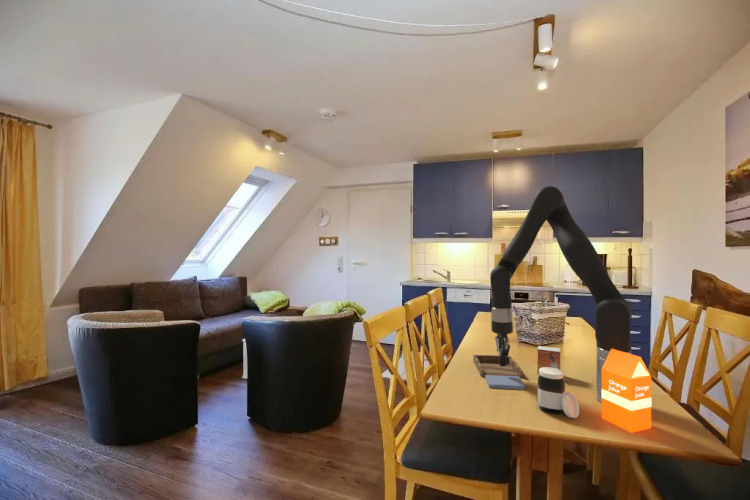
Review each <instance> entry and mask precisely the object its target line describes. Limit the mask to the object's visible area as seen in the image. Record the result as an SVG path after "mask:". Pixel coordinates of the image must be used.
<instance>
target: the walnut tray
mask: <svg viewBox="0 0 750 500" xmlns="http://www.w3.org/2000/svg"><path fill="white" fill-rule="evenodd" d="M473 363H474V365H475V367H476V369H477V371H478V374H479V375H480V377H482V378H485V375H496V376H518V377H519V378H520V379H523V377H524V375H523V374H524V373H523V372H524V371H523V369H522V368H521V367H520V366H519V365H518V363H517V362H516V361H515V360H514V358H513V357H512V356H511V355H508V356H506V366H500V365H499V355H495V354H493V355H488V354H473Z"/></svg>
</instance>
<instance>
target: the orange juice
mask: <svg viewBox="0 0 750 500" xmlns="http://www.w3.org/2000/svg"><path fill="white" fill-rule="evenodd" d="M652 401H653V400H652V375H651V374H650V372H649V369H648V368H647V366H646V363H644V361H643V359H642V356H638V355H635V354H632V353H631V354H628V353H625V352H622V351H618V350H615V349H611V351H610V353H609V355H608V357H607V359H606V361H605V363H604V365H603V367H602V403H601V419H603V420H605V421H606V422H609V423H611V424H613V425H615V426H617V427H619V428H621V429H623V430H625V431H627V432H629V433H631V434H632V433H636V432H641V431H645V430H649V429H652V403H653V402H652Z"/></svg>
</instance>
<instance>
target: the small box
mask: <svg viewBox="0 0 750 500" xmlns="http://www.w3.org/2000/svg"><path fill="white" fill-rule="evenodd" d="M536 363H537V367H536V368H537V372H536V373H537V375H540V374H539V369H540V368H542V367H552V368H557V369H560V370H561V348H559V347H552V346H551V347H549V346H543V345H542V346H541V345H538V347H537V362H536Z"/></svg>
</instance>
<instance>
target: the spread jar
mask: <svg viewBox="0 0 750 500" xmlns="http://www.w3.org/2000/svg"><path fill="white" fill-rule="evenodd" d="M564 376H565V373H564V371H563V370H561V368H560V369H557V368H552V367H542V368H540V369H539V374H538V378H537V407H538V408H540V409H541V410H542V411H545V412H548V413H551V414H561V413H564V414H565V415H566V417H568V418H569V419H577V418H578V417H579V415H580V405H579V401H578V399H577V397H576V395H575V394H574V393H571V392H566V383H565V382H566V381H565V379H564Z"/></svg>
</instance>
